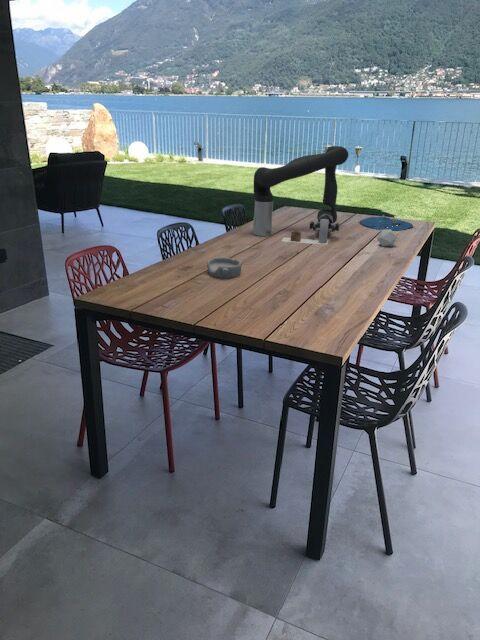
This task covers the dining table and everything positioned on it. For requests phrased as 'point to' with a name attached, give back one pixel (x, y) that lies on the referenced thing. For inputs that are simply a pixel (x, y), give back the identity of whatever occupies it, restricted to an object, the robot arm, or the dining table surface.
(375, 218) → the decorative plate
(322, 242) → the grey post on base
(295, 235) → the walnut block
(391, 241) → the die
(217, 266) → the dish
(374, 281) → the dining table surface
